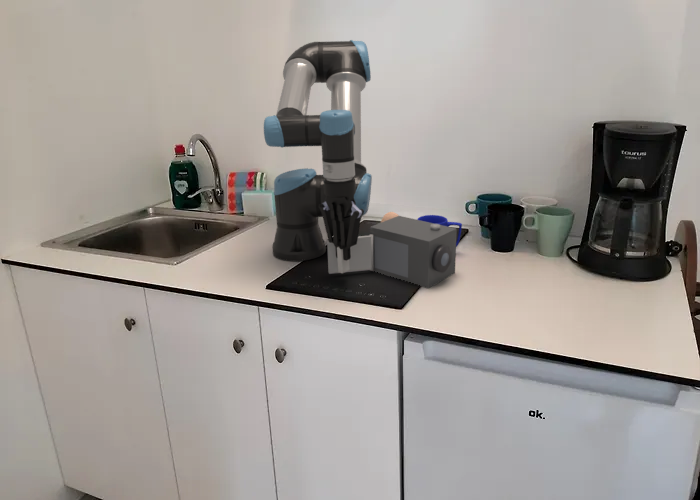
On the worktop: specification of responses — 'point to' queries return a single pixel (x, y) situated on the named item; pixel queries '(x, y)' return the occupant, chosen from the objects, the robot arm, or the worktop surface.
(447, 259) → the camera body
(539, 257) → the worktop surface
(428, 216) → the mug
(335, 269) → the door
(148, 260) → the worktop surface
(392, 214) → the egg
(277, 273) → the worktop surface
